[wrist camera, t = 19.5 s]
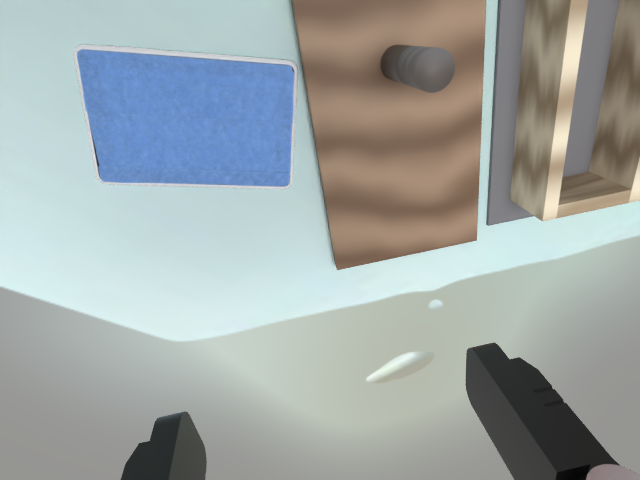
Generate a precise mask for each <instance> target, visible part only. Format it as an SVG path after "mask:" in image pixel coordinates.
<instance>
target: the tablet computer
mask: <svg viewBox="0 0 640 480" xmlns="http://www.w3.org/2000/svg"><path fill="white" fill-rule="evenodd" d="M74 61H75V65H76V71H77V76H78V81H79V87H80V92H81V98H82V104H83V109H84V114H85V119H86V125H87V130H88V136H89V141H90V147H91V152H92V157H93V162H94V168H95V173H96V177H97V179H98V180H99V181H100V182H102V183H104V184H108V185H144V186H181V187H217V188H259V189H287V188H289V187H290V186H291V184H292V182H293V167H294V142H295V123H296V102H297V83H298V68H297V66H296V64H295V63H294V62H292V61H290V60H283V59H270V58H257V57H245V56H232V55H219V54H207V53H194V52H182V51H168V50H156V49H149V48H135V47H117V46H110V45H105V46H104V45H91V44H80V45H78V46H77V47H76V48H75V50H74Z"/></svg>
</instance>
